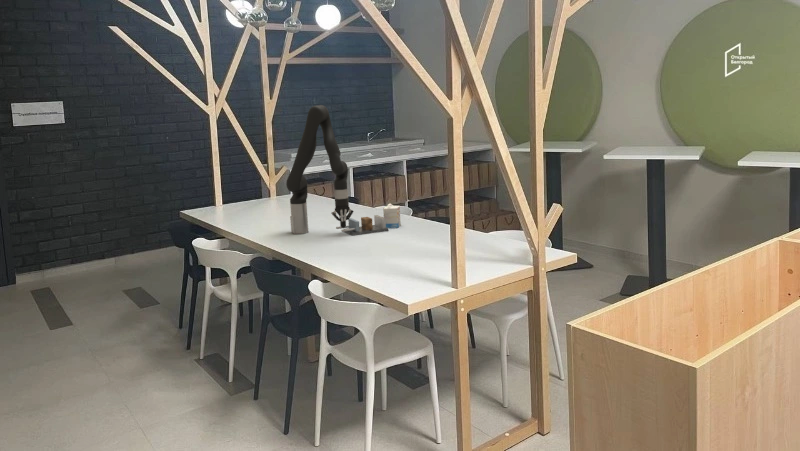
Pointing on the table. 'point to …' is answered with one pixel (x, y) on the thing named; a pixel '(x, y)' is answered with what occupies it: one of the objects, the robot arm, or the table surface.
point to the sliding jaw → (351, 225)
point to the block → (366, 223)
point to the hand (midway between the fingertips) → (343, 227)
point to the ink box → (392, 216)
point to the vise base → (378, 227)
